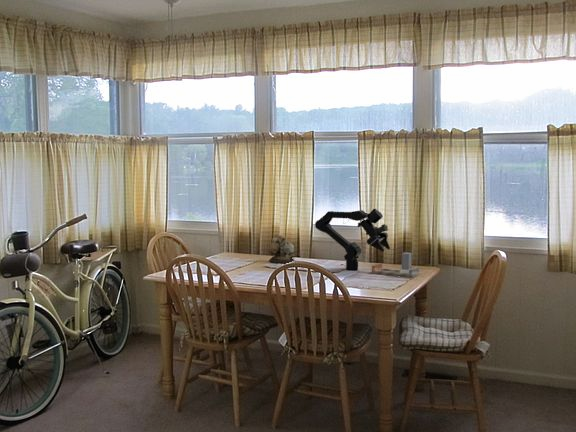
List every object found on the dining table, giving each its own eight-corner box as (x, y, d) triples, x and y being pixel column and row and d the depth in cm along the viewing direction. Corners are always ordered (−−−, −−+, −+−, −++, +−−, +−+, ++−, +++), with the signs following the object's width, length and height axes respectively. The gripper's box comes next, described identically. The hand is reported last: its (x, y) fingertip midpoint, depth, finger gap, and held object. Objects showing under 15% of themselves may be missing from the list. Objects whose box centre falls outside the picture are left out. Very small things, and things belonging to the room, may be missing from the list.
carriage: (399, 273, 326) (400, 253, 325) (403, 271, 331) (404, 252, 330) (409, 274, 323) (409, 254, 322) (413, 272, 328) (413, 252, 327)
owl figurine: (264, 263, 366) (264, 235, 365) (270, 260, 378) (270, 233, 376) (292, 264, 361) (292, 236, 360) (298, 261, 372) (298, 234, 371)
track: (371, 273, 333) (371, 265, 332) (378, 270, 341) (378, 263, 341) (412, 278, 320) (412, 269, 320) (418, 275, 328) (419, 267, 328)
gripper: (373, 221, 326) (390, 243, 321) (385, 218, 342) (402, 239, 337) (359, 233, 330) (376, 255, 326) (372, 230, 346) (388, 251, 342)
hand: (386, 250), depth 333 cm, fingers open, 9 cm apart
